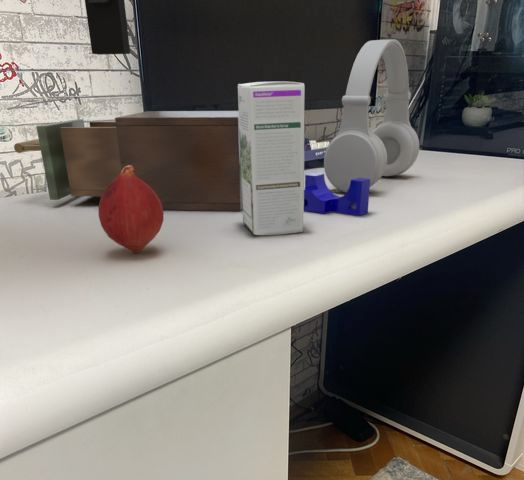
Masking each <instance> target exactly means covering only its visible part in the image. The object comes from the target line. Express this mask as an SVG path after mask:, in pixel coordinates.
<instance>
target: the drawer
mask: <svg viewBox="0 0 524 480" xmlns="http://www.w3.org/2000/svg"><path fill="white" fill-rule="evenodd" d="M35 127H36V133H37V137H38V138H35V139H30V140H26V141H20V142H16V143H14V145H13V149H14V151H15V152H16V153H18V154H23V153H26V152H30V151H40V155H41V159H42V164H43V170H44V174H45V180H46V186H47V190H48V196H49V200H50V201H59V200H61V199H64V198H65V197H68V196H71V197H101V196H102V194H103V192H104V190H105V189H106V188H107V186H108V185H109V184H110V183H111V182H112V181H113V180H114V179H115V178H116V177H117V176H118V175H119V174H120V172H121V171H122V170H121V162H120V154H119V146H118V138H117V130H116V122H115V121H89V126H85V121H84V118H80V119H79V118H77V119H76V118H75V119H70V120H64V121H58V122H57V121H56V122H52V123H47V124H40V125H36V126H35Z"/></svg>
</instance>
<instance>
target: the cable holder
mask: <svg viewBox="0 0 524 480" xmlns="http://www.w3.org/2000/svg"><path fill="white" fill-rule="evenodd" d="M370 188H371V187H370V179H366V178H357V179H353V180H351V183H350V187H349V189H348V191H347V192H346V193H344V195H343V196H342V195H341V196H339V195H336V194H334V193H333V192H332V191H331V190H330V189H329V187H328V186H327V183H326V179H325V173H320V172H319V173H317V172H312V173H307V174H304V211H305V212H310V213H317V214H324V215H325V214H328V213H338V214H344V215H351V216H356V217H357V216H358V217H361V216H363V215H366V214H368V213H369V202H370V190H371V189H370Z"/></svg>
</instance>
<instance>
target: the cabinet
mask: <svg viewBox="0 0 524 480" xmlns="http://www.w3.org/2000/svg"><path fill="white" fill-rule="evenodd" d="M114 120H115V121H114V122H116V130H117V138H118V146H119V154H120V162H121V170H123V168H124V167H125V166H128V165H132V166H133V168H134V172H135V176H136V177H138V178H139V179H141V180H142V181H144V182H145V183H146V184H148V185H149V186H150V187H151V188H152V189H153V190H154V192H155V193H156V194H157V196H158V197H159V199H160V201H161V204H162V208H163V211H216V212H217V211H218V212H219V211H220V212H222V211H224V212H241V211H242V210H243V207H242V184H241V156H240V135H239V110H170V111H169V110H159V111H158V110H155V111H154V110H151V111H149V110H146V111H142V112H137V113H131V114H127V115H126V114H125V115H121V116H116V117H114Z"/></svg>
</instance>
